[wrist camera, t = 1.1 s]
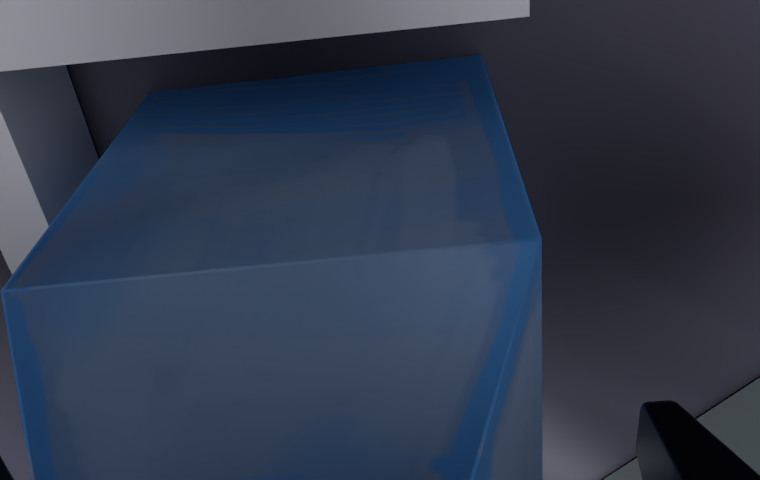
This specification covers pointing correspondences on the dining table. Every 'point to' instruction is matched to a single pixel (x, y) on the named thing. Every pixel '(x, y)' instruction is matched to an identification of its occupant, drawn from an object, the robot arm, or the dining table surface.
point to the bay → (140, 39)
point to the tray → (724, 430)
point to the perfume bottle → (290, 289)
